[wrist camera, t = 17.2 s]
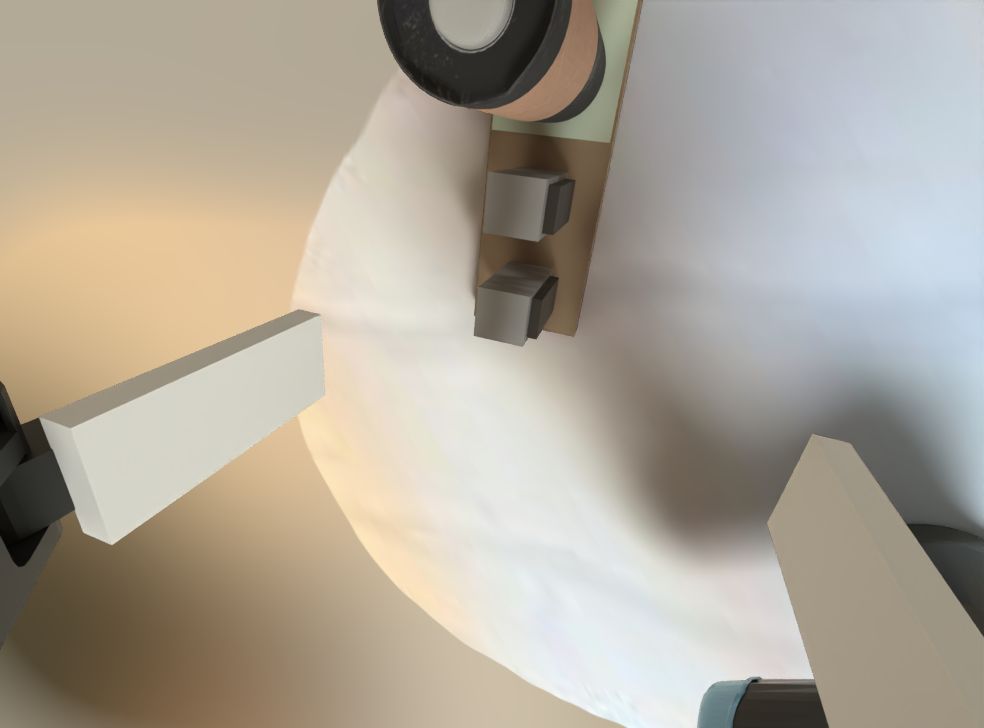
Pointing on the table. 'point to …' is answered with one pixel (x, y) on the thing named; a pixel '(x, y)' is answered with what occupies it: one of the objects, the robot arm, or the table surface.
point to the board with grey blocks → (549, 201)
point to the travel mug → (500, 54)
